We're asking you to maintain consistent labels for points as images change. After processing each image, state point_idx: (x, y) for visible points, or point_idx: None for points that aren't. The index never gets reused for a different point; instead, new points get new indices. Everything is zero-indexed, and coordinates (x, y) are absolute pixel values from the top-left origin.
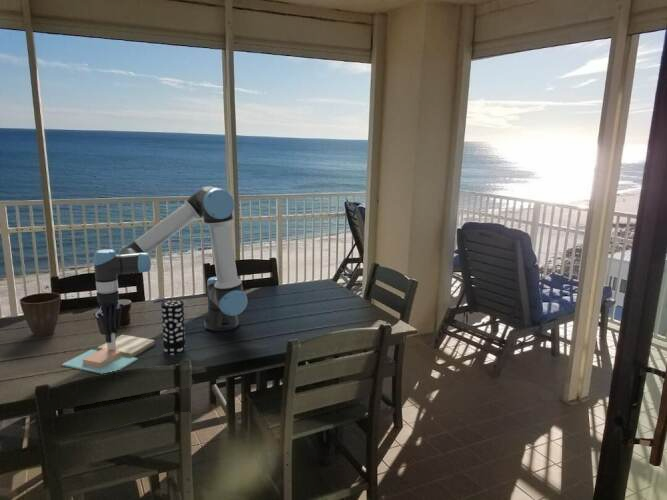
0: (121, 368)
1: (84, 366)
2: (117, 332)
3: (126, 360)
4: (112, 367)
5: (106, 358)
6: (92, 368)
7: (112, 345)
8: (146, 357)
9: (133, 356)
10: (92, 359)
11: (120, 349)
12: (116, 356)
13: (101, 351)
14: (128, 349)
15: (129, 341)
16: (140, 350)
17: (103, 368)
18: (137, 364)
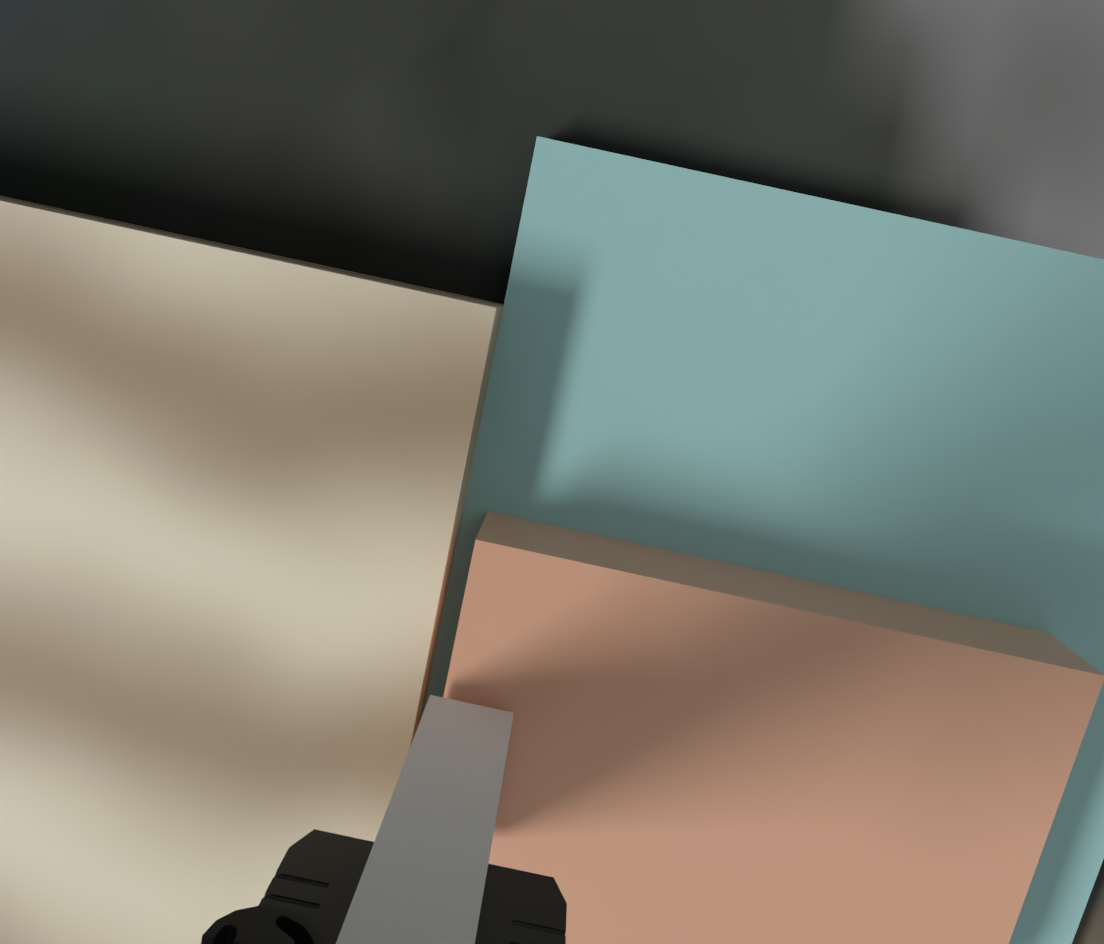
0: (1009, 239)
1: None
2: (266, 906)
3: (678, 312)
4: (1018, 421)
5: (885, 656)
6: (1080, 752)
7: (498, 783)
8: (406, 4)
9: (436, 290)
10: (954, 892)
11: (343, 630)
12: (636, 556)
13: (570, 916)
14: (307, 467)
15: None
16: (206, 242)
17: (1073, 564)
18: (756, 25)
